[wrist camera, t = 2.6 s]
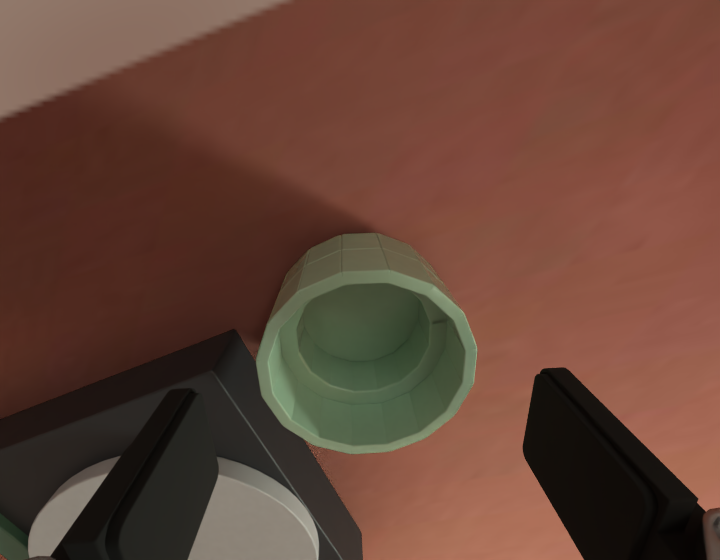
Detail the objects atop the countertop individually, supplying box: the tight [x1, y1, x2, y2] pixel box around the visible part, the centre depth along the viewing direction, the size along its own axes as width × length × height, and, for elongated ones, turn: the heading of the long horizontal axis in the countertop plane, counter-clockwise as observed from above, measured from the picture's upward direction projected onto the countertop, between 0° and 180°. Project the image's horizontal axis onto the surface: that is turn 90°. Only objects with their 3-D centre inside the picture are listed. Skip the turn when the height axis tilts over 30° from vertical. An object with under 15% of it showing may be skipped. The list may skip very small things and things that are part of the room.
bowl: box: [255, 233, 477, 454], centre depth 13 cm, size 7×7×5 cm
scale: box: [0, 329, 363, 560], centre depth 17 cm, size 15×13×4 cm
